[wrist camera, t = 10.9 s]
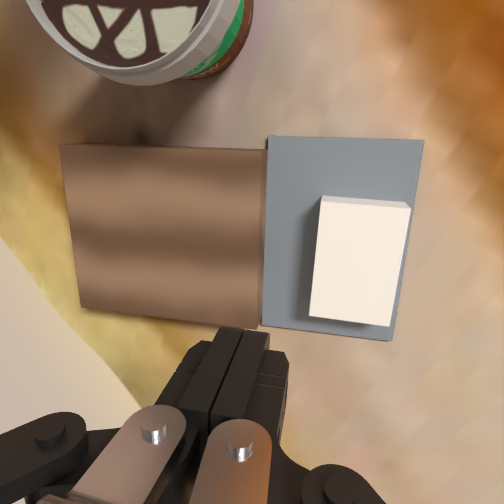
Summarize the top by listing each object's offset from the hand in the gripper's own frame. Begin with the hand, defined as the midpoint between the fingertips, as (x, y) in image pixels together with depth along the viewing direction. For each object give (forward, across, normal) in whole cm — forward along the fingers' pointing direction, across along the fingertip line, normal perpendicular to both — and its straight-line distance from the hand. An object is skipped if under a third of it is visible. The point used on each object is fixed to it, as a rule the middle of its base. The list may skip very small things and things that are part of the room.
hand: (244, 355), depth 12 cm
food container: (+20, +8, -12) cm, 25 cm away
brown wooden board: (+20, +10, +2) cm, 23 cm away
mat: (+20, -3, +2) cm, 20 cm away
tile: (+18, -5, +3) cm, 19 cm away
